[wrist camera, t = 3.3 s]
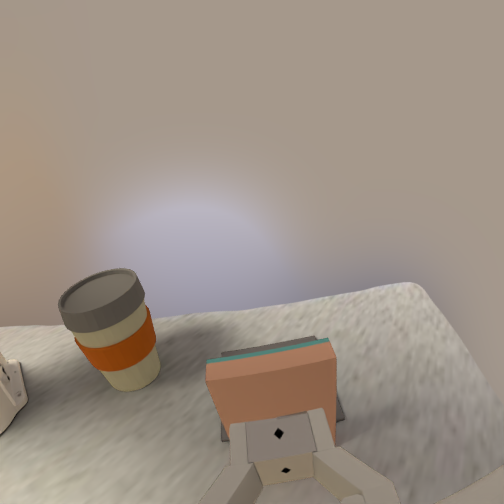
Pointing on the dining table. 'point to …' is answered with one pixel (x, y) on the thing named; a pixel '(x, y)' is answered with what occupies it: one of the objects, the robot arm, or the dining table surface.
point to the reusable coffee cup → (113, 327)
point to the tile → (274, 383)
